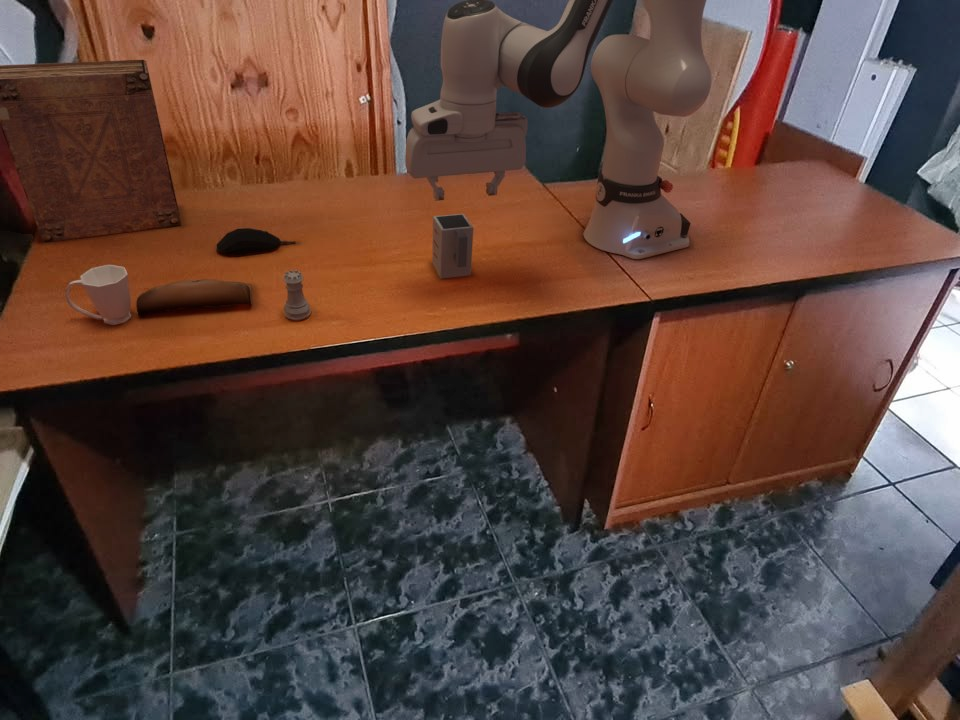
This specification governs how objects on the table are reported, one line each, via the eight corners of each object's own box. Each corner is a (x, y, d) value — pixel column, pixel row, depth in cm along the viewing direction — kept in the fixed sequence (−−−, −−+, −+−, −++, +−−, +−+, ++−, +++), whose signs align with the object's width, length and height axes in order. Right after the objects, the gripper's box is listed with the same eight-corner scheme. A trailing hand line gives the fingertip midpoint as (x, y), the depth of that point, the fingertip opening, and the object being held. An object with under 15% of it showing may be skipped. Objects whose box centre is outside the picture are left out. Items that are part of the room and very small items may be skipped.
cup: (135, 328, 111) (122, 285, 106) (68, 331, 110) (52, 288, 105) (144, 305, 117) (132, 263, 112) (80, 307, 115) (66, 265, 110)
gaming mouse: (297, 250, 135) (295, 232, 133) (218, 259, 131) (214, 240, 128) (293, 236, 140) (291, 218, 137) (216, 243, 135) (213, 225, 133)
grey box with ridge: (461, 260, 135) (476, 284, 128) (431, 263, 134) (445, 288, 127) (463, 213, 129) (479, 235, 122) (432, 215, 128) (446, 238, 121)
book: (41, 242, 132) (-18, 80, 114) (44, 222, 139) (-12, 65, 121) (182, 225, 141) (148, 71, 123) (178, 207, 147) (145, 59, 129)
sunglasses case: (251, 281, 124) (246, 262, 118) (254, 316, 121) (250, 298, 115) (143, 290, 120) (133, 271, 113) (144, 326, 117) (133, 309, 111)
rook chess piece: (284, 322, 115) (279, 281, 110) (283, 308, 118) (278, 267, 113) (312, 320, 116) (307, 278, 111) (310, 306, 119) (305, 265, 115)
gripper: (521, 105, 115) (515, 184, 123) (401, 112, 109) (403, 194, 117) (535, 117, 110) (528, 198, 118) (410, 125, 104) (412, 210, 113)
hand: (465, 196), depth 118 cm, fingers open, 8 cm apart
